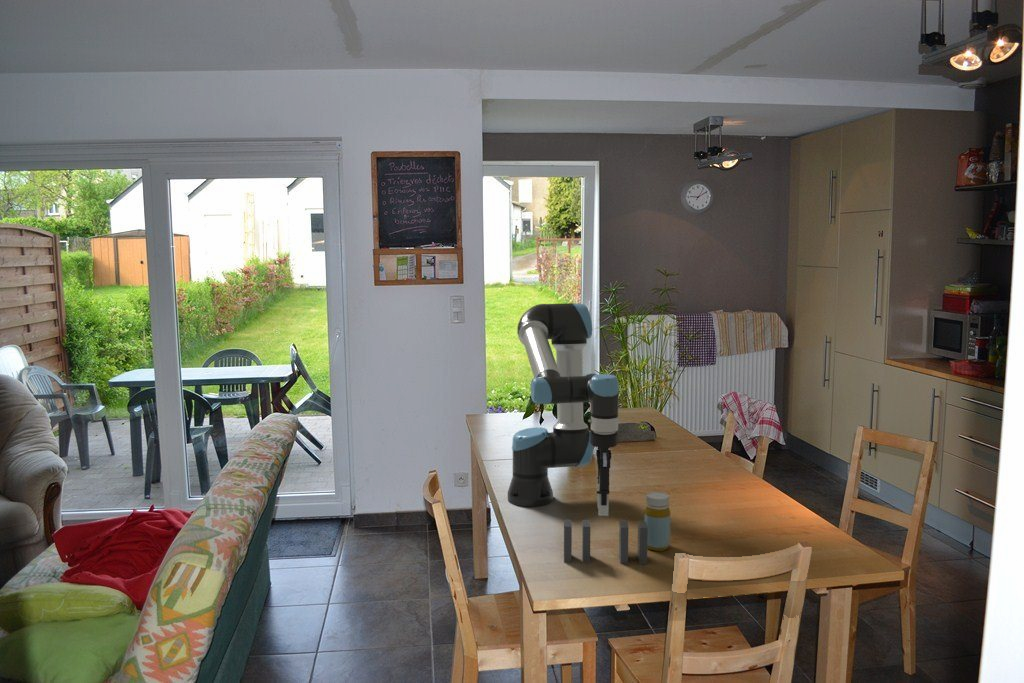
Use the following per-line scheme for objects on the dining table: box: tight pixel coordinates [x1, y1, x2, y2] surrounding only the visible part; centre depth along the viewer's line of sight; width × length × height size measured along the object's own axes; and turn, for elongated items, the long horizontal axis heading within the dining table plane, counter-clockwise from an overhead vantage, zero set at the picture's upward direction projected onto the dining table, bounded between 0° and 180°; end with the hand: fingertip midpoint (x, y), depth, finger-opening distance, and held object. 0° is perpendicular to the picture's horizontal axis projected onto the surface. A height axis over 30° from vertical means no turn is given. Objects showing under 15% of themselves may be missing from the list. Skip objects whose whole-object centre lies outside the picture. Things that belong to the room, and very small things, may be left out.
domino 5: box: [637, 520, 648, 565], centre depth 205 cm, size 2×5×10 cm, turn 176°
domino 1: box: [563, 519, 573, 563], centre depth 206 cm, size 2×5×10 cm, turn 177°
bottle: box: [644, 491, 671, 552], centre depth 213 cm, size 7×7×15 cm
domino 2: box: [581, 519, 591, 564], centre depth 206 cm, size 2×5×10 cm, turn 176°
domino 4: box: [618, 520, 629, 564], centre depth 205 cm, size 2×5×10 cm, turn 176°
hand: (602, 511), depth 214 cm, fingers closed on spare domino, 5 cm apart
